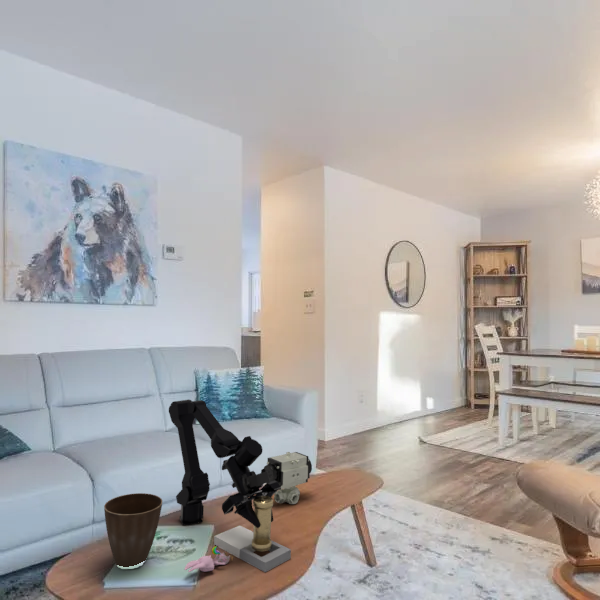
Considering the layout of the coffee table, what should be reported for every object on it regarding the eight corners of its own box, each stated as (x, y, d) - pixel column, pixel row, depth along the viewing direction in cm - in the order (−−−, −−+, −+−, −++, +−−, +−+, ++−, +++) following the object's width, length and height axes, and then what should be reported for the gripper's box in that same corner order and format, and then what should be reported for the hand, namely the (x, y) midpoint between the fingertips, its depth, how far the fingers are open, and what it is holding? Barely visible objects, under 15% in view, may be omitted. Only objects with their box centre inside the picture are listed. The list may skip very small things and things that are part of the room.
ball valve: (275, 511, 164) (277, 459, 165) (261, 503, 171) (262, 454, 171) (313, 499, 176) (315, 451, 176) (299, 492, 182) (300, 446, 183)
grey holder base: (213, 544, 139) (214, 535, 139) (239, 533, 147) (239, 525, 147) (265, 572, 125) (265, 562, 125) (290, 558, 133) (290, 549, 133)
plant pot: (121, 546, 136) (123, 490, 137) (169, 552, 134) (171, 495, 134) (89, 574, 122) (92, 511, 122) (143, 581, 119) (145, 517, 120)
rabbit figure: (220, 560, 133) (177, 573, 122) (224, 538, 134) (181, 548, 123) (236, 569, 129) (193, 582, 118) (239, 545, 130) (197, 557, 119)
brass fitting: (251, 551, 130) (253, 503, 131) (251, 541, 136) (253, 495, 136) (271, 551, 131) (273, 503, 131) (271, 541, 136) (272, 496, 137)
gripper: (230, 466, 130) (256, 520, 122) (277, 453, 144) (303, 500, 136) (210, 488, 135) (235, 540, 127) (258, 473, 149) (282, 519, 141)
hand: (265, 524), depth 133 cm, fingers closed on brass fitting, 5 cm apart
